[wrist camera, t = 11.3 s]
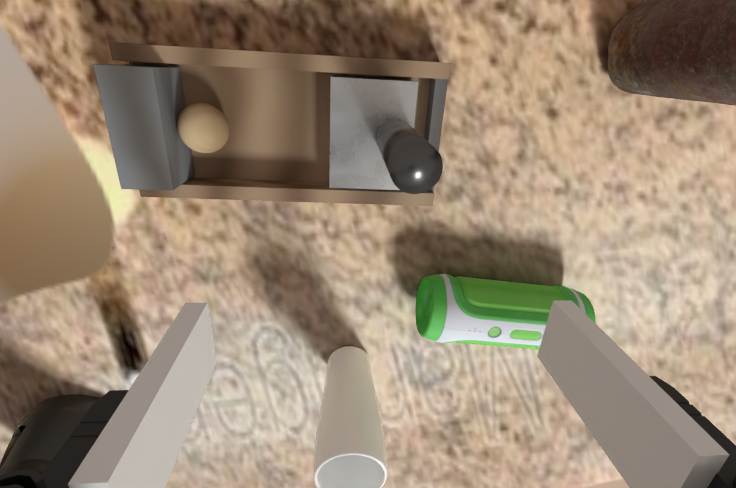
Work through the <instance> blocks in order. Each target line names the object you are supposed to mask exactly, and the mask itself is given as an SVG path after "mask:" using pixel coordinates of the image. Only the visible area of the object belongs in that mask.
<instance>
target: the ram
mask: <svg viewBox="0 0 736 488" xmlns="http://www.w3.org/2000/svg"><path fill="white" fill-rule="evenodd" d="M417 91H418V82H417V81H409V80H391V79H373V78H356V77H338V76H331V85H330V177H329V188H353V189H382V190H401V191H403V192H406V193H409V194H420V193H423V192H426V191H428V190H430V189H431V188H432V187H433V186H434V185H435V184H436V183H437V182H438V180H439V178H440V176H441V173H442V168H443V164H442V158H441V156H440V154H439V152H438V151H437V149H436V148H435V147H433V146H432V145H431V144H430V143H429V142H428V141H427V140H426V139H425V138H424V137H422V136H421V135H420V134H419V133H418V132H417V131H416V130H415V129H414V121H415V111H416V101H417Z"/></svg>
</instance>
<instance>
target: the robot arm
mask: <svg viewBox="0 0 736 488" xmlns="http://www.w3.org/2000/svg"><path fill="white" fill-rule="evenodd" d="M538 358H539V359H540V361H541V362H542V363H543V365H544V366H545V368H546V369H547V371H548V372H549V373H550V375H551V376H552V378H553V379H554V380H555V382H556V383H557V385H558V386H559V388H560V389H561V390H562V392H563V393H564V395H565V396H566V398H567V399H568V400H569V402H570V403H571V405H572V406H573V408H574V409H575V410H576V412H577V413H578V415H579V416H580V417H581V419H582V420H583V422H584V423H585V425H586V426H587V427H588V429H589V430H590V432H591V433H592V435H593V436H594V437H595V439H596V440H597V442H598V443H599V445H600V446H601V447H602V449H603V450H604V452H605V453H606V454H607V456H608V457H609V459H610V460H611V462H612V463H613V464H614V466H615V467H616V469H617V470H618V472H619V473H620V474H621V476H622V477H623V479H624V480H625V482H626V483H627V484H628V486H629V487H630V488H736V446H735V445H734V444H733V443H732V442H731V441H730V440H729V439H728V438H727V437H726V436H725V435H724V434H723V433H722V432H721V431H719V430H718V429H717V428H716V427H715V426H714V425H713V424H712V423H711V422H710V421H709V420H708V419H707V418H706V417H705V416H702V415H701V413H700V412H699V411H698V410H697V409H696V408H695V407H694V406H693V405H690V404H689V401H688V400H686V399H685V398H684V397H683V396H682V395H681V394H680V393H679V392H678V391H677V390H676V389H675V388H673V387H672V386H670V385H669V384H667V383H666V382H664V381H662V380H661V379H659V378H658V377H656V376H648V375H647V374H646V373H645V372H644V371H643V370H642V369H641V368H640V367H639V366H638V365H637V364H636V363H635V362H634V361H633V360H632V359H631V358H630V357H629V356H628V355H627V354H626V353H625V352H624V351H623V350H622V349H621V348H620V347H619V346H618V345H617V344H616V343H615V342H614V341H613V340H612V339H611V338H610V337H609V336H608V335H606V334H605V333H604V332H603V331H602V330H601V329H600V328H599V327H598V326H597V325H596V324H595V323H594V322H593V321H592V320H591V319H590V318H589V317H588V316H587V315H586V314H585V313H584V312H583V311H582V310H581V309H580V308H579V307H578V306H577V305H576V304H575V303H574V302H573V301H572V300H563V301H553V303H552V306H551V310H550V313H549V317H548V320H547V324H546V327H545V331H544V334H543V338H542V341H541V345H540V348H539V352H538ZM216 363H217V360H216V354H215V348H214V341H213V335H212V328H211V322H210V316H209V309H208V303H185V305H184V306H183V308H182V309H181V311H180V312H179V314H178V315H177V317H176V318H175V320H174V322H173V323H172V325H171V326H170V328H169V329H168V331H167V332H166V334H165V335H164V337H163V338H162V340H161V342H160V343H159V345H158V346H157V348H156V349H155V351H154V352H153V354H152V355H151V357H150V358H149V360H148V362H147V363H146V365H145V366H144V368H143V369H142V371H141V372H140V374H139V375H138V377H137V378H136V380H135V382H134V383H133V385H132V386H131V388H130V389H129V390H119V391H109V392H108V393H107V394H105V395H104V396H103V397H102V398H100V399H98V398H93V397H88V396H76V395H71V396H60V397H55V398H51V399H48V400H46V401H43V402H42V403H40V404H38V405H37V406H35V407H34V408H33V409H32V410H31V411H30V412H29V414H28V415H27V416H26V417H25V418H24V419H23V420H22V421H21V422H20V424H19V425H18V426H17V428H16V430H15V432H14V434H13V436H12V439H11V441H10V443H9V445H8V447H7V449H6V451H5V454H4V456H3V458H2V460H1V463H0V488H165V487H166V485H167V482H168V480H169V477H170V475H171V473H172V470H173V468H174V465H175V463H176V460H177V458H178V456H179V453H180V451H181V448H182V446H183V443H184V441H185V438H186V436H187V434H188V431H189V429H190V426H191V424H192V421H193V419H194V417H195V414H196V412H197V409H198V407H199V404H200V402H201V400H202V397H203V395H204V392H205V390H206V387H207V385H208V382H209V380H210V378H211V375H212V373H213V370H214V368H215V365H216Z"/></svg>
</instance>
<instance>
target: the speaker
mask: <svg viewBox="0 0 736 488" xmlns="http://www.w3.org/2000/svg"><path fill="white" fill-rule="evenodd" d="M563 300H572V301H573V302H574V303H575V304H576V305H577V306H578V307H579V308H580V309H581V310H582V311H583V312H584V313H585V314H586V315H587V316H588V317H589V318H590V319H591V320H592V321H593V322H594V323H595V313H594V309H593V306H592V304H591V302H590V301H589V299H588V298H587V297H586V296H585V295H584V294H582V293H580V292H578V291H576V290H573V289H570V288H567V287H564V286H559V285H554V286H546V285H537V284H527V283H517V282H508V281H498V280H489V279H479V278H470V277H461V276H457V277H453V276H451V275H449V274H435V275H430V276H426V277H424V278H423V279H422V281H421V283H420V285H419V289H418V293H417V299H416V324H417V329H418V332H419V333H420V335H421V336H423V337H425V338H428V339H431V340H434V341H437V342H441V343H452V342H456V343H468V344H480V345H492V346H505V347H517V348H530V349H539V348H540V345H541V341H542V338H543V334H544V331H545V327H546V324H547V320H548V317H549V313H550V310H551V306H552V303H553V301H563Z"/></svg>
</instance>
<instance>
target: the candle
mask: <svg viewBox="0 0 736 488" xmlns="http://www.w3.org/2000/svg"><path fill="white" fill-rule="evenodd" d="M608 70H609V76H610V79H611V81H612V83H613V84H614V85H616V86H617V87H618V88H619V89H621V90H623V91H625V92H628V93H633V94H641V95H649V96H656V97H665V98H675V99H683V100H692V101H703V102H712V103H721V104H728V105H736V0H650V1H646V2H644V3H642V4H640V5H638V6H637V7H636V8H634V9H633V10H631V11H630V12H628V13H627V14H626V15H625V16H623V17H622V18H621V20H620V21H619V23H618V24H617V26H616V27H615V28H614V30H613V32H612V35H611V39H610V41H609V45H608Z"/></svg>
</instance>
